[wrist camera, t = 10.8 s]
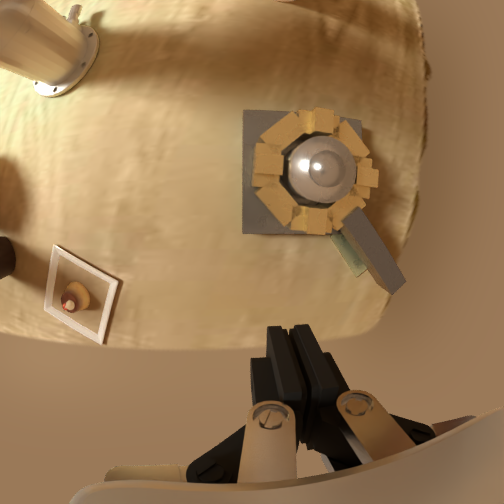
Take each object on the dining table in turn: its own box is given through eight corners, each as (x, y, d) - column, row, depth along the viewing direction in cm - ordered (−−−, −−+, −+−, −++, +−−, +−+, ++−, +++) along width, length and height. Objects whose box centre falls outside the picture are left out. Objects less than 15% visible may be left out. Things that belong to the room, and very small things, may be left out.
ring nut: (229, 165, 28) (227, 161, 23) (310, 101, 27) (325, 85, 21) (348, 306, 33) (365, 327, 28) (412, 246, 32) (437, 257, 26)
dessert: (47, 307, 35) (31, 319, 30) (57, 242, 32) (38, 250, 28) (104, 342, 36) (92, 358, 32) (121, 278, 34) (107, 291, 29)
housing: (242, 115, 30) (245, 86, 20) (378, 128, 30) (423, 114, 21) (242, 279, 34) (244, 317, 24) (371, 275, 35) (411, 305, 25)
